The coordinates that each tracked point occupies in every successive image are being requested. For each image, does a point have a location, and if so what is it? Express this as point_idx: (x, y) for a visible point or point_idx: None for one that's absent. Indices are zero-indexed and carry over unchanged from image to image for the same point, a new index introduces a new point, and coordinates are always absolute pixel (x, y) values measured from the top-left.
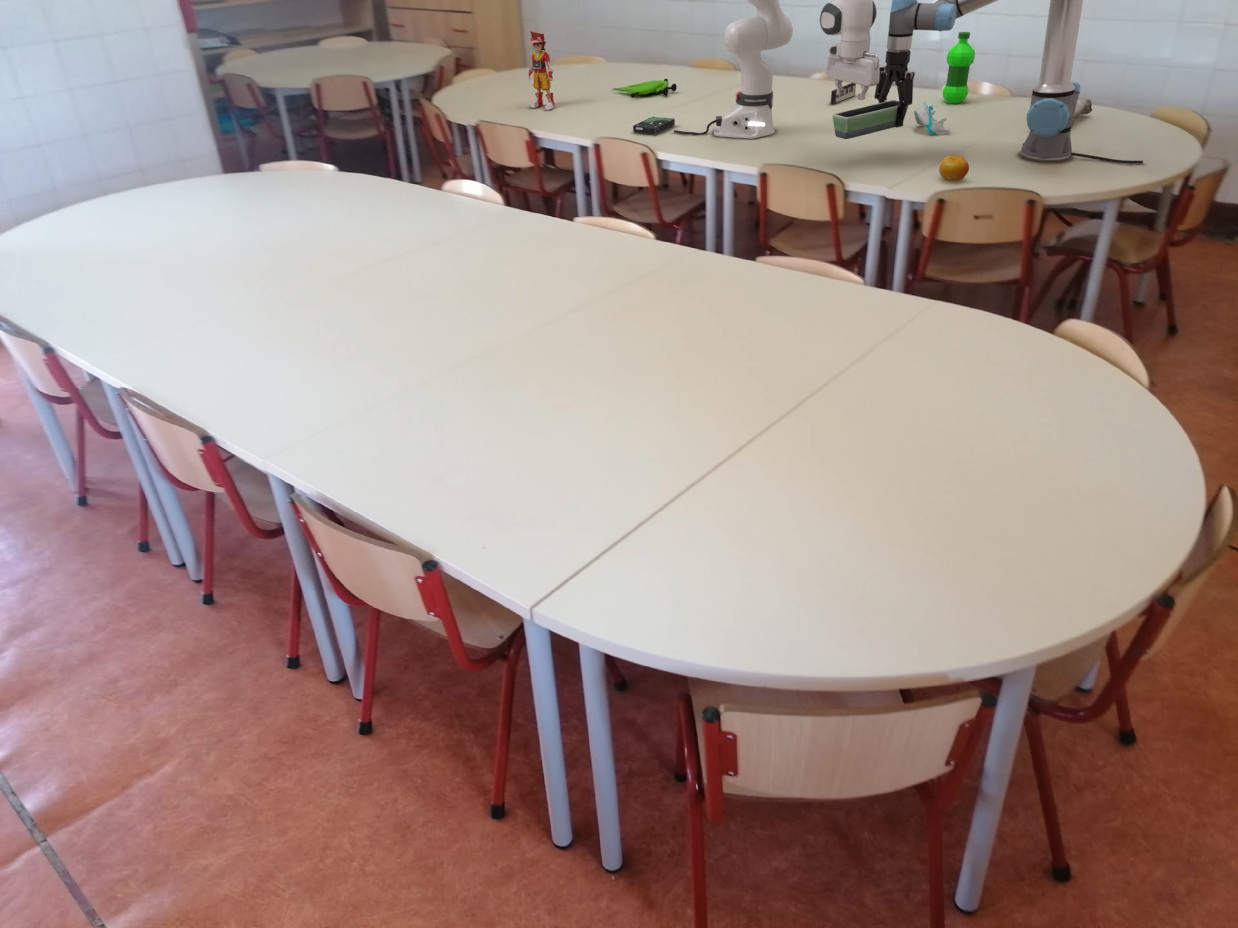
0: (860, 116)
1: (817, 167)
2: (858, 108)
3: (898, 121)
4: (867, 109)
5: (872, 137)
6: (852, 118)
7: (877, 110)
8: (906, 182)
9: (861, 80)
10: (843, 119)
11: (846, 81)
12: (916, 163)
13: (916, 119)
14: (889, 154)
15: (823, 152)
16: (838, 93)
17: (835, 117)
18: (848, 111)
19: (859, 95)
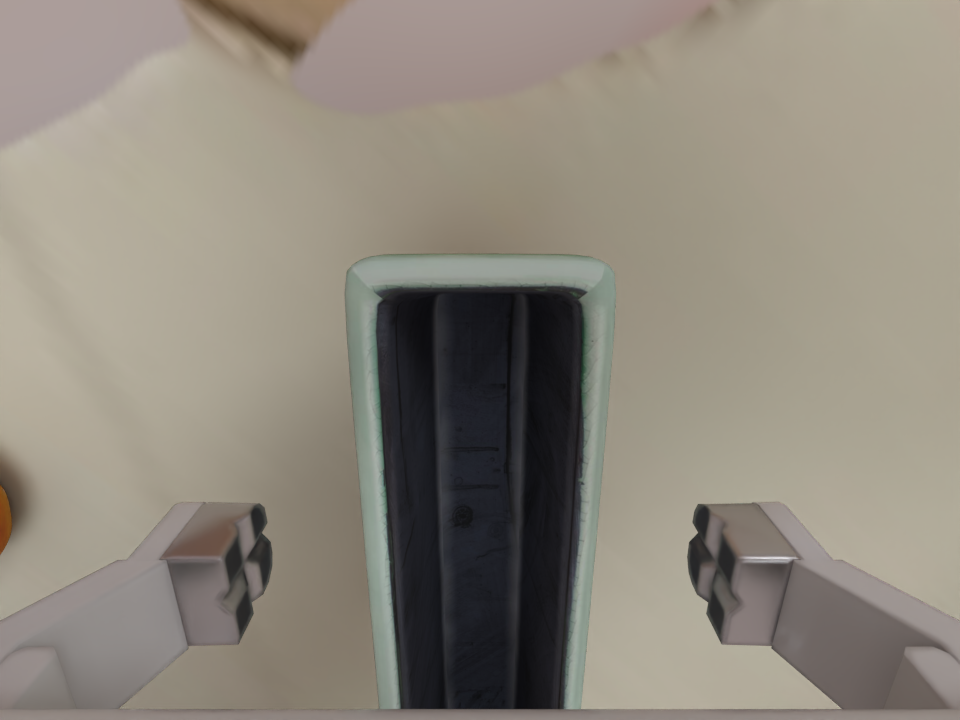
0: (359, 452)
1: (562, 118)
2: (574, 606)
3: None
4: (555, 668)
5: (722, 678)
6: (351, 343)
7: (383, 659)
8: (33, 313)
9: None
10: (405, 256)
11: (556, 716)
12: (277, 552)
13: None
14: None
15: (749, 360)
16: (749, 512)
17: (547, 257)
18: (578, 483)
19: (193, 543)
